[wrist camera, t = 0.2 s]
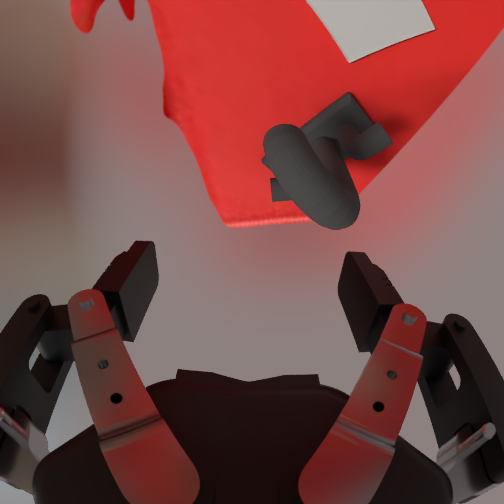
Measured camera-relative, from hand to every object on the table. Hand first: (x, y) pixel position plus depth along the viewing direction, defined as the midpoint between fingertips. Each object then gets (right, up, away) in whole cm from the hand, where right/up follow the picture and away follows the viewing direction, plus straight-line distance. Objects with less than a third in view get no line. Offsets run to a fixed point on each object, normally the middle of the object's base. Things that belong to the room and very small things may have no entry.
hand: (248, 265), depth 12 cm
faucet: (+8, +19, +26) cm, 33 cm away
